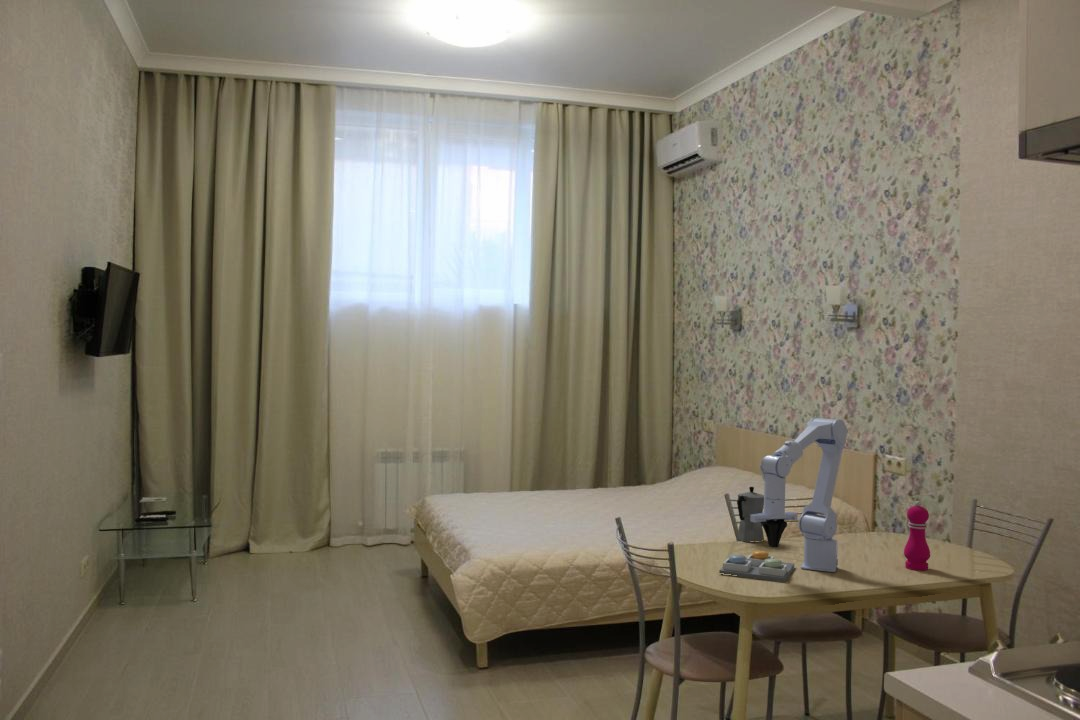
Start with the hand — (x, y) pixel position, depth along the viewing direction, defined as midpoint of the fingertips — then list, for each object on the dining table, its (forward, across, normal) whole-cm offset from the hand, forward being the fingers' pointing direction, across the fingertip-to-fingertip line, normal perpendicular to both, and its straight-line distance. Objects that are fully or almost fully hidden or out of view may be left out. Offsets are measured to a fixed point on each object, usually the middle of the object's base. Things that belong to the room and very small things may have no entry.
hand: (773, 546), depth 245 cm
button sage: (+6, 0, 0) cm, 6 cm away
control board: (+8, 0, -7) cm, 11 cm away
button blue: (+6, +7, -7) cm, 11 cm away
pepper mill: (+9, -48, +4) cm, 49 cm away
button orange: (+6, -3, -10) cm, 12 cm away
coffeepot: (+9, -23, -44) cm, 50 cm away
